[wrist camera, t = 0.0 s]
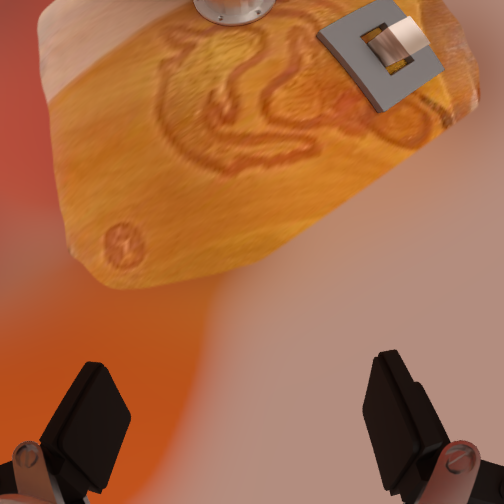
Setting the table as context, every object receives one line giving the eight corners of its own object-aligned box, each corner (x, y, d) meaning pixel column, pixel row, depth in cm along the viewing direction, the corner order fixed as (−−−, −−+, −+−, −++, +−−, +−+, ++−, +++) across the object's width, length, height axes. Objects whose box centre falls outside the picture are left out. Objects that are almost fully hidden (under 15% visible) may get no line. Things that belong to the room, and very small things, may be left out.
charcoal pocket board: (316, 36, 35) (319, 30, 33) (382, 0, 31) (387, -5, 29) (378, 113, 39) (384, 111, 37) (437, 71, 35) (445, 69, 33)
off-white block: (363, 46, 35) (388, 27, 26) (382, 35, 34) (409, 15, 25) (381, 69, 36) (410, 55, 27) (399, 57, 35) (430, 43, 26)
